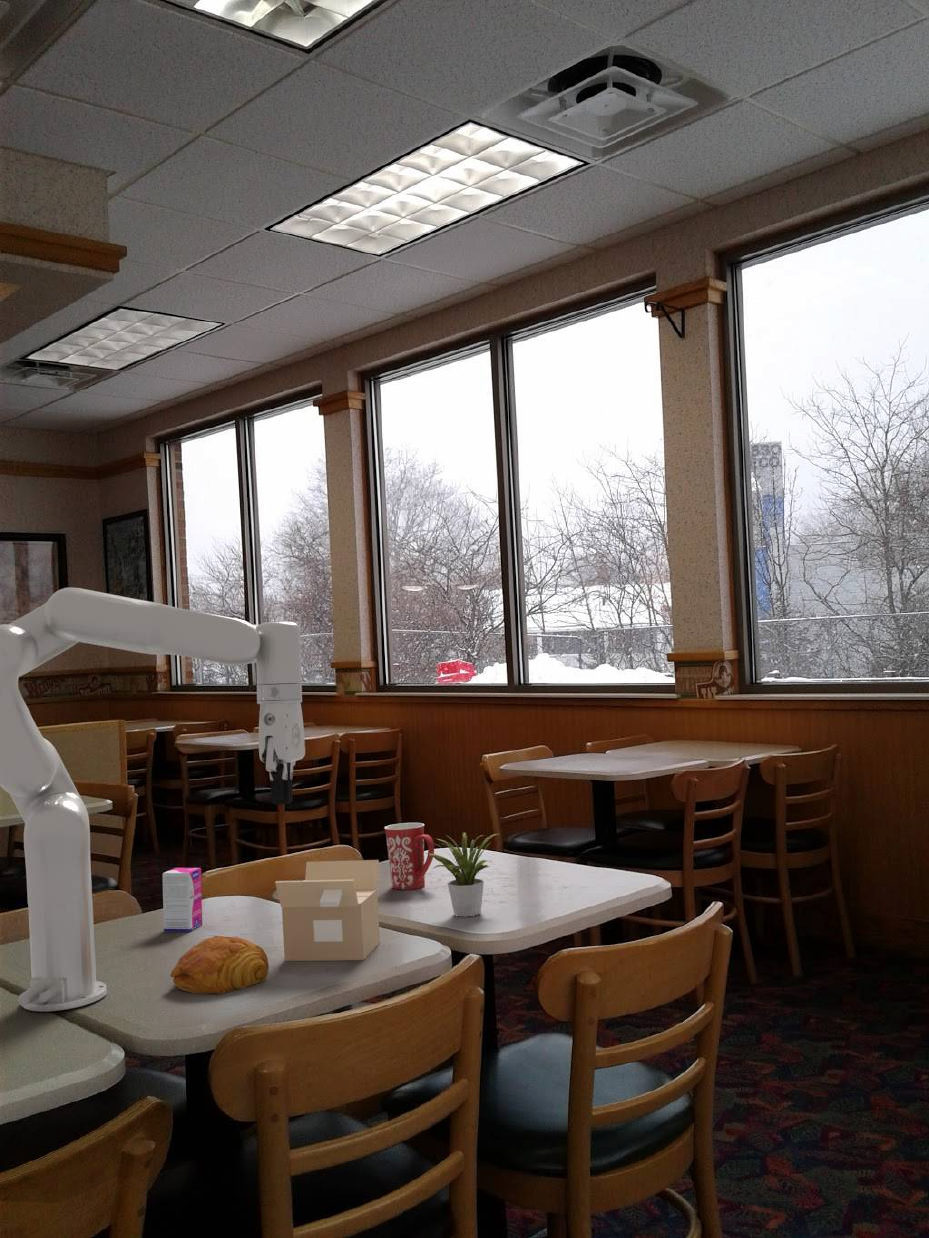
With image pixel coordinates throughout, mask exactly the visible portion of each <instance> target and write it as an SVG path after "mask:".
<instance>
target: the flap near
mask: <svg viewBox="0 0 929 1238" xmlns="http://www.w3.org/2000/svg"><path fill="white" fill-rule="evenodd" d="M274 883H275V889H276V891H277V896H278V900H279V904H280V907H281V908H282V907H338V906H358V905H359V903H358V898H357V894H356V889H355V884H354V879H346V880H305V879H304V880H303V879H302V880H276V881H274Z"/></svg>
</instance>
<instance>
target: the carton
mask: <svg viewBox="0 0 929 1238" xmlns="http://www.w3.org/2000/svg"><path fill="white" fill-rule="evenodd" d="M356 894H357V898H358V903H359V905H358V906H338V907H281V916H282V917H281V918H282V933H283V934H282V935H283V953H284V962H296V961H298V962H299V961H302V962H303V961H305V962H309V961H314V962H315V961H365V960H366V958H367V957H368V956H370V954H371V953H372V952H373V951H374V949H375V948H376V947H377V946H378V945H380V943H381V939H380V937H381V936H380V923H379V922H380V920H379V903H378V901H379V900H378V888H377V889H358V890H356Z"/></svg>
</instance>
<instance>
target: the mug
mask: <svg viewBox="0 0 929 1238" xmlns="http://www.w3.org/2000/svg"><path fill="white" fill-rule="evenodd" d="M383 830H384V831H385V838H386V846H387V853H388V854H387V855H388V863H389V871H390V881H391V888H392V889H393V888H395V889H394V890H397V889H401V890H400V891H402V889H403V890H404V889H405V890H404V891H406V890H415V889H420V888H423V887H425V885H426V884H425V883H426V881H425V880H426V879H425V875H426V873H428V872H427V871H428V870H429V868H430V866H431V864H432V861H433V859H434V857H432V856H429V855H428V854H427V857H426V859H425V842H426V844H427V849H428V850H427V853H429V854H435V843H434V840H433V837H431V836H430V835H429V834H425V824H424V823H421V822H403V823H394V824H389V825H387V826H384V827H383Z"/></svg>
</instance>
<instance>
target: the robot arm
mask: <svg viewBox="0 0 929 1238" xmlns="http://www.w3.org/2000/svg"><path fill="white" fill-rule="evenodd" d="M301 636H302V635H301V629H300V626H299V625H298V624H297V623H295V622H291V621H268V622H262V623H260V624H251V623H249V621H246V620H243V619H239V618H235V617H234V618H233V617H229V616H223V615H220V614H219V615H218V614H213V613H208V612H202V611H197V610H192V609H186V608H181V607H175V606H173V605H167V604H163V603H159V602H154V601H149V600H143V599H137V598H131V597H126V596H122V595H116V594H112V593H107V592H106V593H105V592H101V591H96V590H91V589H90V590H89V589H86V588H80V587H64V588H61V589H59V590H57V591H55V592H54V593H52V594H51V596H50V597H49V598H48V600H47V602H46V601H45V603H43V604H42V605H40V606H39V607H37V608H34V610H32V611H29V613H27V614H24V615H22V616H21V617H19V618H17V619H16V620H13V621H11V622H10V623H8V624H6V623H4V624H0V787H1V789H2V790H4V792H6V793H8V794H9V796H10V798H11V799H12V801H13V803H14V805H15V808H16V809H17V811H18V813H19V814H20V817H21V818H22V821H23V822H24V829H23V830H24V831H23V849H24V859H25V872H26V891H27V905H28V909H27V910H28V925H29V926H28V929H29V930H28V931H29V946H30V947H29V949H30V953H29V954H30V972H31V973H30V974H31V979H30V980H29V988H28V990H25V991H23V992H22V993H20V994H19V995H18V996H17V1003H18V1005H19V1006H21V1007H22V1008H23V1009H25V1010H28V1011H31V1012H40V1013H41V1012H42V1013H43V1012H45V1013H46V1012H57V1011H65V1010H71V1009H77V1008H81V1007H84V1006H87V1005H90V1004H92V1003H95V1002H97V1001H100V1000H101V999H103V998H104V997H105V996H106V995H107V993H108V989H107V987H108V986H107V985H106V983H104V982H103V981H98V980H97V976H96V975H97V972H96V968H97V967H96V949H95V930H94V929H95V928H94V927H95V926H94V908H93V905H94V904H93V891H92V871H91V870H92V867H91V831H90V830H91V828H90V817H89V812H88V809H87V807H86V804H85V803H84V801H83V799H82V797H81V795H80V793H79V792H78V790H77V787H76V786H75V784H74V781H73V780H72V778H71V775H70V773H69V772H68V770H67V769H66V766H65V765H64V762H63V760H62V759H61V757H60V755H59V753H58V751H57V749H56V747H55V746H54V745H53V744H52V743H51V742H50V741H49V740H48V739H46V738H45V737H43V735H42V733H41V731H40V730H39V728H38V726H37V724H36V722H35V721H34V719H33V717H32V715H31V712H30V710H29V707H28V706H27V704H26V702H25V700H24V698H23V696H22V693H21V691H20V689H19V687H20V686H19V678H20V677H22V676H24V675H26V674H27V673H29V672H31V671H33V670H34V669H36V668H38V667H40V666H41V665H42V664H43V665H44V664H45V663H46V662H48V661H50V660H52V659H53V658H55V657H56V656H59V655H60V654H62V653H64V652H65V651H67V650H68V649H70V648H72V647H74V646H75V645H77V644H79V643H83V644H90V645H96V646H101V647H107V648H113V649H118V650H122V651H128V652H134V653H140V654H145V655H170V656H172V655H174V656H180V657H187V658H192V659H193V658H194V659H199V660H203V661H205V660H206V661H209V662H210V661H211V662H215V663H218V664H220V665H222V666H226V667H239V666H244V665H247V664H255V665H256V668H255V669H256V703H257V705H260V706H259V719H258V721H259V722H258V754H259V760H260V761H261V762H263V763H264V764H265V770H266V772H269V779H270V797H271V798H270V802H271V803H270V804H272V805H288V804H292V803H293V800H294V799H293V776H294V766H296V761H299V760H300V761H301V760H302V759H303V758H304V757H305V755H306V743H305V742H306V741H305V727H304V720H303V719H304V718H303V711H302V710H303V709H302V704H301V703H303V692H302V691H303V687H302V679H303V678H302V646H301V643H302V640H301V639H302V638H301Z"/></svg>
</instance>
